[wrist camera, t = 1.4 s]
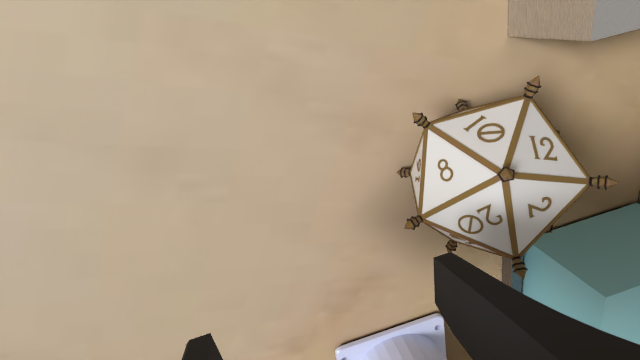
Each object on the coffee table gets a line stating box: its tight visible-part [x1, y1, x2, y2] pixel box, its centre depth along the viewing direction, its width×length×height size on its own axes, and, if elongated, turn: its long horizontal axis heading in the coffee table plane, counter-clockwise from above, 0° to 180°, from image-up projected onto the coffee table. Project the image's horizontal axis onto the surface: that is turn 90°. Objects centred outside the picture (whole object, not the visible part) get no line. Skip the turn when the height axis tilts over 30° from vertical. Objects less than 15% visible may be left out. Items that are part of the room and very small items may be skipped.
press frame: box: [502, 0, 640, 292], centre depth 22 cm, size 23×12×5 cm, turn 11°
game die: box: [397, 76, 618, 279], centre depth 18 cm, size 9×8×10 cm
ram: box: [522, 203, 640, 345], centre depth 24 cm, size 6×9×7 cm, turn 101°
